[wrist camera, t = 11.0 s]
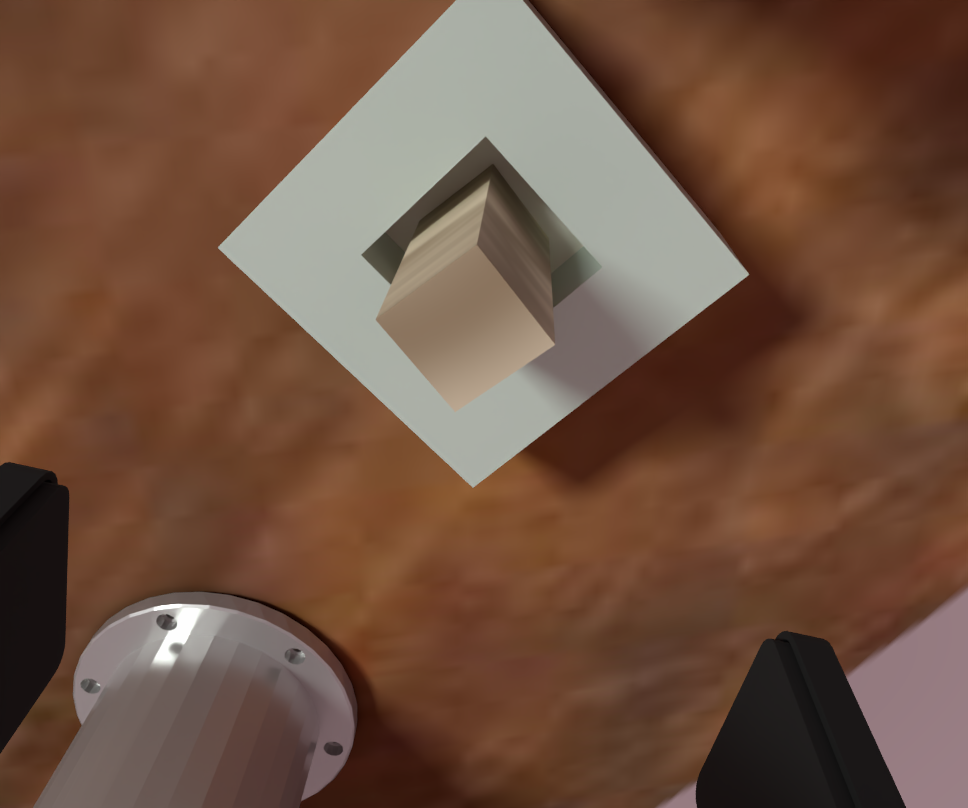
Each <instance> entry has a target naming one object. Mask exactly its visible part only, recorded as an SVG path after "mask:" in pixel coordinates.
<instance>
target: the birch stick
mask: <svg viewBox="0 0 968 808" xmlns="http://www.w3.org/2000/svg"><path fill="white" fill-rule="evenodd" d="M376 321H377V322H378V323H379V324H380V326H381V327H382V328H383V329H384V330H385V331H386V332H387V334H388V335H389V336H390V337H391V338H392V339H393V341H394V342H395V343H396V344H397V345H398V346H399V348H400V349H401V350H402V351H403V352H404V353H405V355H406V356H407V357H408V358H409V359H410V360H411V362H412V363H413V364H414V365H415V366H416V367H417V368H418V370H419V371H420V372H421V373H422V374H423V375H424V377H425V378H426V379H427V380H428V381H429V382H430V384H431V385H432V386H433V387H434V388H435V389H436V391H437V392H438V393H439V394H440V395H441V396H442V398H443V399H444V400H445V401H446V402H447V403H448V404H449V406H450V407H451V408H452V409H453V410H454V411H455V412H456V411H458V410H459V409H461V408H462V407H464V406H465V405H467V404H468V403H470V402H471V401H472V400H474V399H475V398H477V397H478V396H480V395H481V394H483V393H484V392H486V391H487V390H489V389H490V388H492V387H493V386H495V385H496V384H498V383H499V382H501V381H502V380H504V379H505V378H507V377H508V376H510V375H511V374H513V373H514V372H516V371H517V370H519V369H520V368H522V367H523V366H525V365H526V364H528V363H529V362H530V361H532V360H533V359H535V358H536V357H538V356H539V355H541V354H542V353H544V352H545V351H547V350H548V349H550V348H551V347H553V346H554V345H555V332H554V315H553V298H552V281H551V265H550V248H549V238H548V237H547V235H546V234H545V232H544V231H543V230H542V228H541V227H540V226H539V224H538V223H537V222H536V220H535V219H534V218H533V216H532V215H531V214H530V212H529V211H528V210H527V208H526V207H525V206H524V204H523V203H522V202H521V200H520V199H519V198H518V196H517V195H516V194H515V192H514V191H513V190H512V188H511V187H510V186H509V184H508V183H507V182H506V180H505V179H504V178H503V176H502V175H501V174H500V172H499V171H498V169H497V168H496V167H495V165H494V164H492V165H491V166H490V167H488V168H487V169H486V170H484V171H483V172H482V173H480V174H479V175H478V176H477V177H475V178H474V179H473V180H471V181H470V182H469V183H467V184H466V185H465V186H464V187H462V188H461V189H460V190H458V191H457V192H456V193H454V194H453V195H452V196H451V197H449V198H448V199H447V200H445V201H444V202H443V203H442V204H440V205H439V206H438V207H436V208H435V209H434V210H432V211H431V212H430V213H429V214H427V215H426V216H425V217H423V218H422V219H421V220H420V221H419V223H418V225H417V228H416V230H415V232H414V234H413V237H412V239H411V241H410V243H409V246H408V248H407V250H406V252H405V255H404V257H403V259H402V261H401V264H400V266H399V268H398V270H397V273H396V275H395V277H394V279H393V281H392V284H391V286H390V288H389V290H388V293H387V295H386V297H385V299H384V302H383V304H382V306H381V308H380V311H379V313H378V315H377V317H376Z"/></svg>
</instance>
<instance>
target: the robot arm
mask: <svg viewBox="0 0 968 808" xmlns="http://www.w3.org/2000/svg"><path fill="white" fill-rule="evenodd" d="M68 522H69V491H68V488H67V487H66V486H63V485H58V483H57V477H56V475H55V473H53V472H52V471H47V470H43V469H38V468H34V467H29V466H24V465H20V464H15V463H11V462H8V463H4V464H3V465H1V466H0V753H1V752H2V750H3V749H4V747H5V746H6V744H7V743H8V741H9V740H10V739H11V737H12V736H13V734H14V733H15V731H16V730H17V728H18V727H19V725H20V724H21V722H22V721H23V719H24V718H25V716H26V715H27V714H28V712H29V711H30V709H31V708H32V706H33V705H34V703H35V702H36V700H37V699H38V697H39V696H40V694H41V693H42V691H43V690H44V689H45V687H46V686H47V684H48V683H49V681H50V680H51V678H52V677H53V675H54V674H55V672H56V670H57V669H58V666H59V664H60V662H61V659H62V656H63V652H64V648H65V631H66V595H67V559H68ZM73 697H74V702H75V707H76V712H77V716H78V718H79V720H80V722H81V724H82V726H81V728H80V730H79V731H78V733H77V735H76V736H75V738H74V740H73V741H72V743H71V745H70V746H69V748H68V750H67V752H66V753H65V755H64V757H63V758H62V760H61V762H60V763H59V765H58V767H57V768H56V770H55V772H54V773H53V775H52V777H51V778H50V780H49V782H48V784H47V785H46V787H45V789H44V790H43V792H42V794H41V795H40V797H39V799H38V800H37V802H36V804H35V805H34V807H33V808H299V807H300V803H301V801H303V800H305V799H307V798H309V797H310V796H312V795H314V794H316V793H318V792H319V791H320V790H322V789H323V788H324V787H325V786H326V785H328V784H329V783H330V782H331V781H332V780H334V778H335V777H336V776H337V774H338V773H339V772H340V770H341V769H342V768H343V766H344V765H345V763H346V761H347V759H348V756H349V754H350V751H351V749H352V746H353V741H354V737H355V732H356V727H357V702H356V698H355V694H354V690H353V686H352V683H351V681H350V679H349V678H348V676H347V674H346V672H345V670H344V668H343V666H342V664H341V663H340V662H339V660H338V659H337V658H336V657H335V655H334V654H333V653H332V652H331V650H330V649H329V648H328V647H327V645H325V644H324V643H323V642H322V641H321V640H320V639H319V638H317V637H316V636H315V635H314V634H313V633H312V632H311V631H309V630H308V629H307V628H306V627H304V626H302V625H301V624H299V623H298V622H296V621H294V620H293V619H291V618H290V617H288V616H286V615H285V614H283V613H281V612H278V611H276V610H274V609H271V608H269V607H267V606H264V605H262V604H260V603H257V602H254V601H250V600H246V599H243V598H239V597H235V596H231V595H225V594H217V593H208V592H180V593H170V594H165V595H160V596H156V597H151V598H147V599H145V600H142V601H140V602H137V603H135V604H133V605H130V606H128V607H126V608H124V609H123V610H121V611H120V612H118V613H117V614H115V615H114V616H112V617H111V618H110V619H108V620H107V621H106V622H105V623H104V624H103V626H102V627H101V628H100V629H99V630H98V631H97V632H96V633H95V634H94V636H93V637H92V639H91V641H90V642H89V644H88V645H87V647H86V649H85V650H84V652H83V653H82V655H81V656H80V659H79V662H78V665H77V668H76V671H75V674H74V685H73ZM696 804H697V808H906V806H905V804H904V802H903V800H902V798H901V795H900V793H899V791H898V789H897V787H896V785H895V783H894V780H893V778H892V776H891V774H890V772H889V769H888V768H887V765H886V763H885V761H884V759H883V757H882V755H881V752H880V750H879V748H878V746H877V744H876V741H875V739H874V737H873V735H872V733H871V731H870V728H869V726H868V724H867V722H866V720H865V718H864V716H863V713H862V711H861V709H860V707H859V705H858V702H857V700H856V698H855V696H854V694H853V692H852V689H851V687H850V685H849V683H848V681H847V678H846V676H845V674H844V672H843V670H842V668H841V665H840V663H839V661H838V659H837V657H836V655H835V652H834V650H833V648H832V646H831V645H830V643H829V642H828V641H826V640H824V639H821V638H816V637H811V636H807V635H802V634H798V633H793V632H788V631H784V632H781V633H780V634H779V635H778V636H777V637H776V639H775V640H774V639H766V640H765V641H764V642H763V644H762V645H761V647H760V649H759V651H758V653H757V655H756V657H755V659H754V662H753V664H752V666H751V668H750V670H749V672H748V674H747V676H746V678H745V680H744V682H743V684H742V686H741V689H740V691H739V693H738V695H737V697H736V699H735V701H734V703H733V705H732V707H731V709H730V711H729V713H728V716H727V718H726V720H725V722H724V724H723V726H722V728H721V730H720V732H719V734H718V736H717V738H716V740H715V743H714V745H713V747H712V749H711V751H710V753H709V755H708V757H707V759H706V761H705V763H704V765H703V767H702V769H701V772H700V774H699V777H698V780H697V785H696Z"/></svg>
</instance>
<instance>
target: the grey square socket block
mask: <svg viewBox="0 0 968 808" xmlns="http://www.w3.org/2000/svg"><path fill="white" fill-rule="evenodd" d="M492 164H494V165H495V167H496V168H497V169H498V171H499V172H500V174H501V175H502V176H503V178H504V179H505V180H506V182H507V183H508V184H509V186H510V187H511V188H512V190H513V191H514V192H515V194H516V195H517V196H518V198H519V199H520V200H521V202H522V203H523V204H524V206H525V207H526V208H527V210H528V211H529V212H530V214H531V215H532V216H533V218H534V219H535V220H536V222H537V223H538V224H539V226H540V227H541V228H542V230H543V231H544V232H545V234H546V235H547V237H548V238H549V248H550V265H551V281H552V298H553V315H554V332H555V345H554V346H553V347H551V348H550V349H548V350H547V351H545V352H544V353H542V354H541V355H539V356H538V357H536V358H535V359H533V360H532V361H530V362H529V363H528V364H526V365H525V366H523V367H522V368H520V369H519V370H517V371H516V372H514V373H513V374H511V375H510V376H508V377H507V378H505V379H504V380H502V381H501V382H499V383H498V384H496V385H495V386H493V387H492V388H490V389H489V390H487V391H486V392H484V393H483V394H481V395H480V396H478V397H477V398H475V399H474V400H472V401H471V402H470V403H468V404H467V405H465V406H464V407H462V408H461V409H459V410H458V411H456V412H455V411H454V410H453V409H452V408H451V407H450V406H449V404H448V403H447V402H446V401H445V400H444V399H443V398H442V396H441V395H440V394H439V393H438V392H437V391H436V389H435V388H434V387H433V386H432V385H431V384H430V382H429V381H428V380H427V379H426V378H425V377H424V375H423V374H422V373H421V372H420V371H419V370H418V368H417V367H416V366H415V365H414V364H413V363H412V362H411V360H410V359H409V358H408V357H407V356H406V355H405V353H404V352H403V351H402V350H401V349H400V348H399V346H398V345H397V344H396V343H395V342H394V341H393V339H392V338H391V337H390V336H389V335H388V334H387V332H386V331H385V330H384V329H383V328H382V327H381V326H380V324H379V323H378V322H377V321H376V317H377V315H378V313H379V311H380V308H381V306H382V304H383V302H384V299H385V297H386V295H387V293H388V290H389V288H390V286H391V284H392V281H393V279H394V277H395V275H396V273H397V270H398V268H399V266H400V264H401V261H402V259H403V257H404V255H405V252H406V250H407V248H408V246H409V243H410V241H411V239H412V237H413V234H414V232H415V230H416V228H417V225H418V223H419V221H420V220H421V219H422V218H423V217H425V216H426V215H427V214H429V213H430V212H431V211H432V210H434V209H435V208H436V207H438V206H439V205H440V204H442V203H443V202H444V201H445V200H447V199H448V198H449V197H451V196H452V195H453V194H454V193H456V192H457V191H458V190H460V189H461V188H462V187H464V186H465V185H466V184H467V183H469V182H470V181H471V180H473V179H474V178H475V177H477V176H478V175H479V174H480V173H482V172H483V171H484V170H486V169H487V168H488V167H490V166H491V165H492ZM218 248H219V249H220V250H221V251H222V252H223V253H224V254H225V255H226V256H227V257H228V258H229V259H230V260H231V261H232V262H233V263H234V264H236V265H237V266H238V267H239V268H240V269H241V270H242V271H243V272H244V273H245V274H246V275H247V276H248V277H249V278H250V279H252V280H253V281H254V282H255V283H256V284H257V285H258V286H259V287H260V288H261V289H262V290H263V291H264V292H265V293H266V294H267V295H269V296H270V297H271V298H272V299H273V300H274V301H275V302H276V303H277V304H278V305H279V306H280V307H281V308H282V309H283V310H284V311H286V312H287V313H288V314H289V315H290V316H291V317H292V318H293V319H294V320H295V321H296V322H297V323H298V324H299V325H300V326H302V327H303V328H304V329H305V330H306V331H307V332H308V333H309V334H310V335H311V336H312V337H313V338H314V339H315V340H316V341H317V342H319V343H320V344H321V345H322V346H323V347H324V348H325V349H326V350H327V351H328V352H329V353H330V354H331V355H332V356H333V357H335V358H336V359H337V360H338V361H339V362H340V363H341V364H342V365H343V366H344V367H345V368H346V369H347V370H348V371H349V372H350V373H352V374H353V375H354V376H355V377H356V378H357V379H358V380H359V381H360V382H361V383H362V384H363V385H364V386H365V387H366V388H367V389H369V390H370V391H371V392H372V393H373V394H374V395H375V396H376V397H377V398H378V399H379V400H380V401H381V402H382V403H383V404H385V405H386V406H387V407H388V408H389V409H390V410H391V411H392V412H393V413H394V414H395V415H396V416H397V417H398V418H399V419H400V420H402V421H403V422H404V423H405V424H406V425H407V426H408V427H409V428H410V429H411V430H412V431H413V432H414V433H415V434H416V435H418V436H419V437H420V438H421V439H422V440H423V441H424V442H425V443H426V444H427V445H428V446H429V447H430V448H431V449H432V450H433V451H435V452H436V453H437V454H438V455H439V456H440V457H441V458H442V459H443V460H444V461H445V462H446V463H447V464H448V465H449V466H450V467H452V468H453V469H454V470H455V471H456V472H457V473H458V474H459V475H460V476H461V477H462V478H463V479H464V480H465V481H466V482H468V483H469V484H470V485H471V486H472V487H475V486H476V485H477V484H478V483H480V482H481V481H482V480H484V479H485V478H486V477H488V476H489V475H490V474H491V473H493V472H494V471H495V470H497V469H498V468H499V467H500V466H502V465H503V464H504V463H506V462H507V461H508V460H510V459H511V458H512V457H513V456H515V455H516V454H517V453H519V452H520V451H521V450H523V449H524V448H525V447H526V446H528V445H529V444H530V443H532V442H533V441H534V440H536V439H537V438H538V437H539V436H541V435H542V434H543V433H545V432H546V431H547V430H548V429H550V428H551V427H552V426H554V425H555V424H556V423H558V422H559V421H560V420H561V419H563V418H564V417H565V416H567V415H568V414H569V413H571V412H572V411H573V410H574V409H576V408H577V407H578V406H580V405H581V404H582V403H583V402H585V401H586V400H587V399H589V398H590V397H591V396H593V395H594V394H595V393H596V392H598V391H599V390H600V389H602V388H603V387H604V386H606V385H607V384H608V383H609V382H611V381H612V380H613V379H615V378H616V377H617V376H618V375H620V374H621V373H622V372H624V371H625V370H626V369H628V368H629V367H630V366H631V365H633V364H634V363H635V362H637V361H638V360H639V359H641V358H642V357H643V356H644V355H646V354H647V353H648V352H650V351H651V350H652V349H653V348H655V347H656V346H657V345H659V344H660V343H661V342H663V341H664V340H665V339H666V338H668V337H669V336H670V335H672V334H673V333H674V332H676V331H677V330H678V329H679V328H681V327H682V326H683V325H685V324H686V323H687V322H688V321H690V320H691V319H692V318H694V317H695V316H696V315H698V314H699V313H700V312H701V311H703V310H704V309H705V308H707V307H708V306H709V305H711V304H712V303H713V302H714V301H716V300H717V299H718V298H720V297H721V296H722V295H723V294H725V293H726V292H727V291H729V290H730V289H731V288H733V287H734V286H735V285H736V284H738V283H739V282H740V281H742V280H743V279H744V278H746V277H747V276H748V275H749V273H748V272H747V270H746V269H745V268H744V266H743V265H742V263H741V262H740V261H739V259H738V258H737V256H736V255H735V253H734V252H733V251H732V249H731V248H730V246H729V245H728V243H727V242H726V241H725V239H724V238H723V236H722V235H721V234H720V232H719V231H718V230H717V229H716V227H715V226H714V225H713V224H712V222H711V221H710V220H709V219H708V218H707V216H706V215H705V214H704V213H703V212H702V210H701V209H700V208H699V207H698V205H697V204H696V203H695V202H694V201H693V199H692V198H691V197H690V196H689V195H688V193H687V192H686V191H685V190H684V188H683V187H682V186H681V185H680V184H679V182H678V181H677V180H676V179H675V178H674V176H673V175H672V174H671V173H670V171H669V170H668V169H667V168H666V167H665V165H664V164H663V163H662V162H661V161H660V159H659V158H658V157H657V156H656V154H655V153H654V152H653V151H652V150H651V148H650V147H649V146H648V145H647V144H646V142H645V141H644V140H643V139H642V137H641V136H640V135H639V134H638V133H637V131H636V130H635V129H634V128H633V127H632V125H631V124H630V123H629V122H628V120H627V119H626V118H625V117H624V116H623V114H622V113H621V112H620V111H619V110H618V108H617V107H616V106H615V105H614V103H613V102H612V101H611V100H610V99H609V97H608V96H607V95H606V94H605V93H604V91H603V90H602V89H601V88H600V86H599V85H598V84H597V83H596V82H595V80H594V79H593V78H592V77H591V76H590V74H589V73H588V72H587V71H586V70H585V68H584V67H583V66H582V65H581V63H580V62H579V61H578V60H577V59H576V57H575V56H574V55H573V54H572V53H571V51H570V50H569V49H568V48H567V46H566V45H565V44H564V43H563V42H562V40H561V39H560V38H559V37H558V36H557V34H556V33H555V32H554V31H553V29H552V28H551V27H550V26H549V25H548V23H547V22H546V21H545V20H544V19H543V17H542V16H541V15H540V14H539V12H538V11H537V10H536V9H535V8H534V6H533V5H532V4H531V3H530V2H529V0H456V1H455V2H454V3H453V4H452V5H451V6H450V7H449V8H448V9H447V10H446V11H445V13H444V14H443V15H442V16H441V17H440V18H439V19H438V20H437V21H436V22H435V23H434V24H433V25H432V26H431V27H430V28H429V29H428V30H427V31H426V32H425V33H424V34H423V35H422V36H421V37H420V38H419V39H418V41H417V42H416V43H415V44H414V45H413V46H412V47H411V48H410V49H409V50H408V51H407V52H406V53H405V54H404V55H403V56H402V57H401V58H400V59H399V60H398V61H397V62H396V63H395V64H394V65H393V66H392V67H391V69H390V70H389V71H388V72H387V73H386V74H385V75H384V76H383V77H382V78H381V79H380V80H379V81H378V82H377V83H376V84H375V85H374V86H373V87H372V88H371V89H370V90H369V91H368V92H367V93H366V94H365V95H364V97H363V98H362V99H361V100H360V101H359V102H358V103H357V104H356V105H355V106H354V107H353V108H352V109H351V110H350V111H349V112H348V113H347V114H346V115H345V116H344V117H343V118H342V119H341V120H340V121H339V122H338V123H337V125H336V126H335V127H334V128H333V129H332V130H331V131H330V132H329V133H328V134H327V135H326V136H325V137H324V138H323V139H322V140H321V141H320V142H319V143H318V144H317V145H316V146H315V147H314V148H313V149H312V150H311V152H310V153H309V154H308V155H307V156H306V157H305V158H304V159H303V160H302V161H301V162H300V163H299V164H298V165H297V166H296V167H295V168H294V169H293V170H292V171H291V172H290V173H289V174H288V175H287V176H286V177H285V178H284V180H283V181H282V182H281V183H280V184H279V185H278V186H277V187H276V188H275V189H274V190H273V191H272V192H271V193H270V194H269V195H268V196H267V197H266V198H265V199H264V200H263V201H262V202H261V203H260V204H259V205H258V206H257V208H256V209H255V210H254V211H253V212H252V213H251V214H250V215H249V216H248V217H247V218H246V219H245V220H244V221H243V222H242V223H241V224H240V225H239V226H238V227H237V228H236V229H235V230H234V231H233V232H232V233H231V234H230V236H229V237H228V238H227V239H226V240H225V241H224V242H223V243H222V244H221V245H220V246H219V247H218Z"/></svg>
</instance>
